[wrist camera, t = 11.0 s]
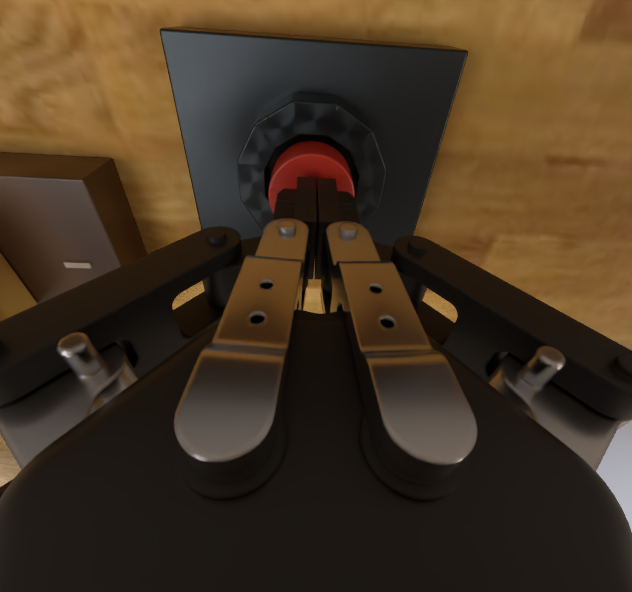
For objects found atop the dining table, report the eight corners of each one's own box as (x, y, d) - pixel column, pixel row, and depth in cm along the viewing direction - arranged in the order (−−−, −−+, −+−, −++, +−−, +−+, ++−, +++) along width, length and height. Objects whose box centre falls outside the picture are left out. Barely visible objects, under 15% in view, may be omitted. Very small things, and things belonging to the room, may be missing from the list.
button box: (451, 46, 14) (489, 55, 11) (398, 239, 21) (413, 277, 18) (176, 26, 13) (138, 29, 10) (214, 231, 20) (197, 269, 17)
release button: (356, 142, 13) (360, 156, 12) (345, 219, 16) (349, 238, 14) (270, 137, 13) (266, 151, 12) (273, 216, 15) (269, 235, 14)
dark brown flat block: (110, 151, 17) (77, 173, 14) (163, 298, 24) (147, 329, 22) (-171, 135, 16) (-254, 156, 14) (-30, 292, 23) (-68, 323, 21)
